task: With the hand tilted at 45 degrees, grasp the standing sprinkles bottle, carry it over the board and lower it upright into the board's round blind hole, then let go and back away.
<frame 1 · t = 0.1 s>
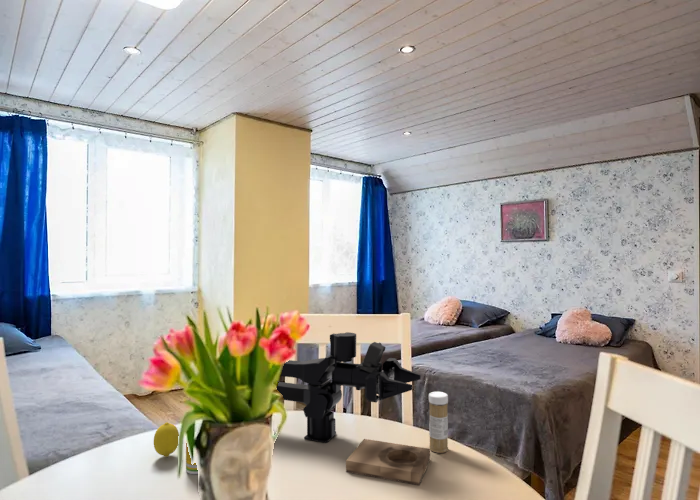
hand: (416, 382, 104), 17 cm above the table, tool horizontal, fingers open, 9 cm apart
sprinkles bottle: (438, 450, 105), on the table
lemon: (166, 457, 102), on the table
supplement bottle: (198, 469, 96), on the table
board: (389, 465, 97), on the table
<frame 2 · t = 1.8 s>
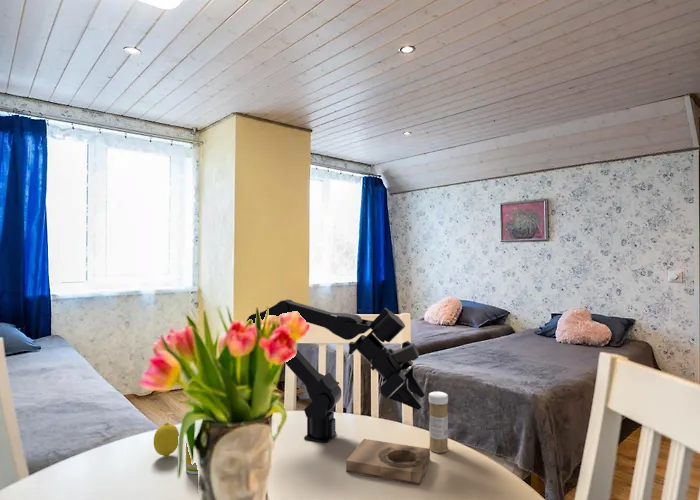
hand: (421, 402, 106), 11 cm above the table, tool tilted 45°, fingers open, 9 cm apart
nothing on the table moved.
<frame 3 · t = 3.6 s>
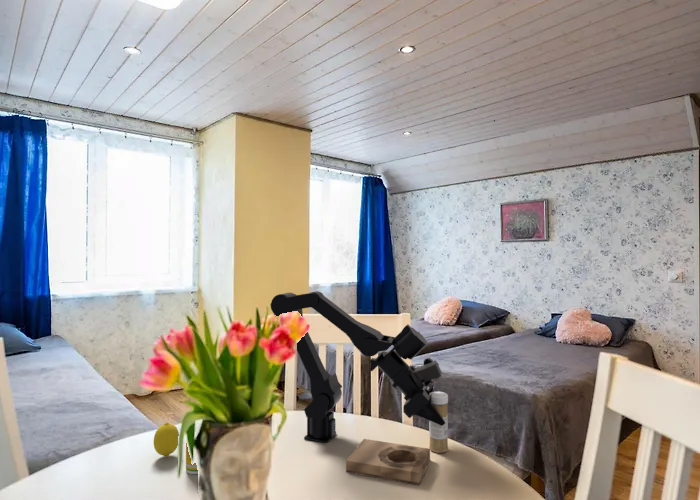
hand: (444, 420, 105), 7 cm above the table, tool tilted 45°, fingers closed on sprinkles bottle, 4 cm apart
sprinkles bottle: (438, 450, 105), on the table, touching gripper
everything else where it was.
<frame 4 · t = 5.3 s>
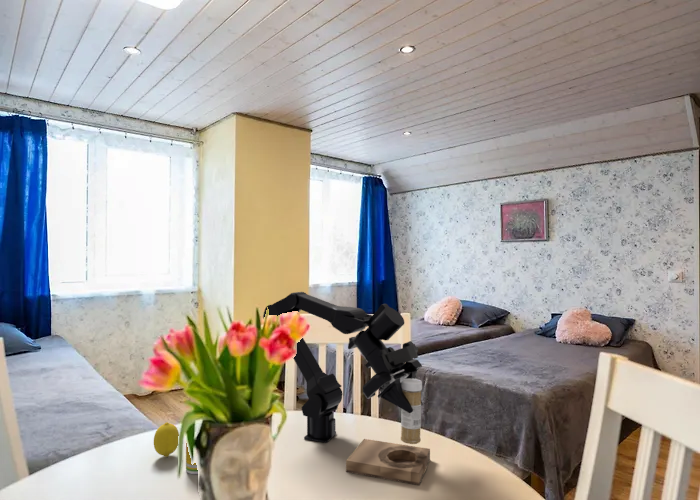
hand: (416, 409, 97), 13 cm above the table, tool tilted 45°, fingers closed on sprinkles bottle, 4 cm apart
sprinkles bottle: (410, 441, 98), point 5 cm above the table, touching gripper
everything else where it was.
when the fingers open (8 cm above the table, at t = 6.9 s): sprinkles bottle stays where it is, resting on board.
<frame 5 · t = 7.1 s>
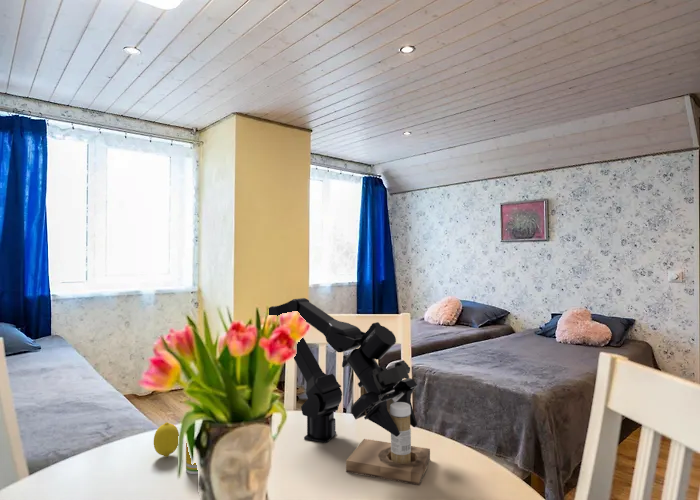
hand: (407, 430, 95), 9 cm above the table, tool tilted 45°, fingers open, 6 cm apart
sprinkles bottle: (400, 466, 96), resting on board
everything else where it was.
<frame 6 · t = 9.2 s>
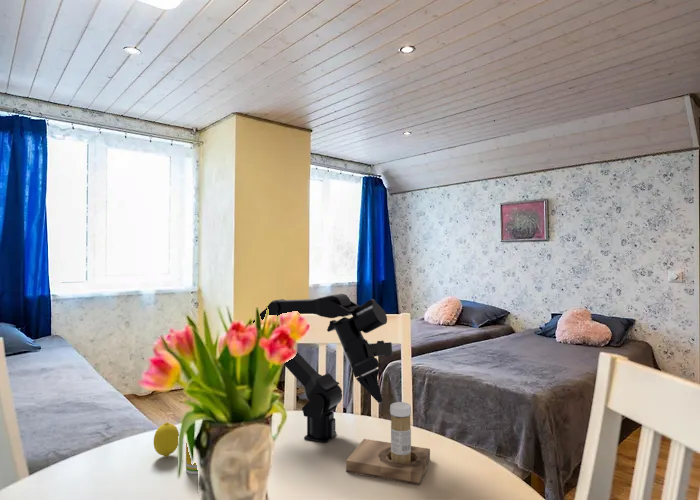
hand: (379, 400, 105), 12 cm above the table, tool tilted 30°, fingers open, 9 cm apart
nothing on the table moved.
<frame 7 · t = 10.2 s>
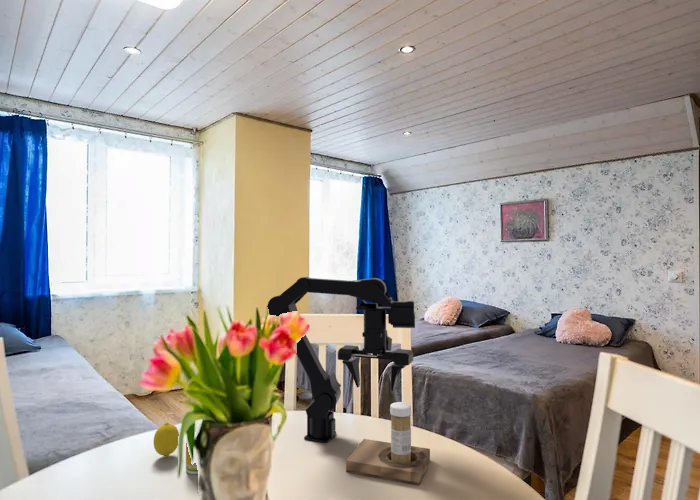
hand: (375, 388, 111), 13 cm above the table, tool pointing down, fingers open, 9 cm apart
nothing on the table moved.
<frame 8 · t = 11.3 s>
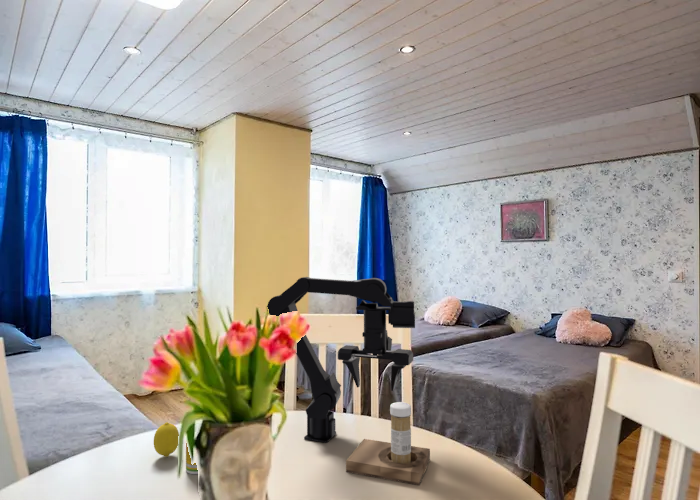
hand: (375, 388, 111), 13 cm above the table, tool pointing down, fingers open, 9 cm apart
nothing on the table moved.
at the end: sprinkles bottle 0.4 cm from the target spot on the board, point 0.3 cm above the board's base; sprinkles bottle tilted 0°; the gripper is holding nothing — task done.
